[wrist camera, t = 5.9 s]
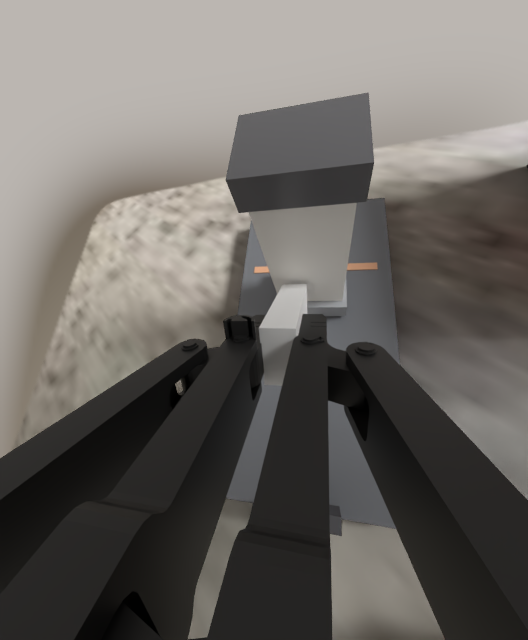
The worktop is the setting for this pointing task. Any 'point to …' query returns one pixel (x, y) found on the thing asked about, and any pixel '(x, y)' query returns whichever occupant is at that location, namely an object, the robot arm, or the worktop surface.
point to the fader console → (356, 326)
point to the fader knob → (305, 190)
